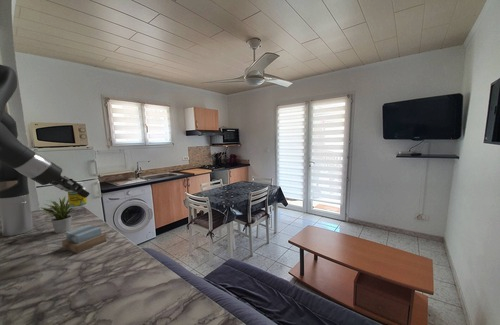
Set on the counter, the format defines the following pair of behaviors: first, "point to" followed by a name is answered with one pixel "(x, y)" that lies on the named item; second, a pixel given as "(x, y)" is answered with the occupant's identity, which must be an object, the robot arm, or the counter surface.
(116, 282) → the counter surface
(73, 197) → the supplement bottle
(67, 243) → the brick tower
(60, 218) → the house plant
